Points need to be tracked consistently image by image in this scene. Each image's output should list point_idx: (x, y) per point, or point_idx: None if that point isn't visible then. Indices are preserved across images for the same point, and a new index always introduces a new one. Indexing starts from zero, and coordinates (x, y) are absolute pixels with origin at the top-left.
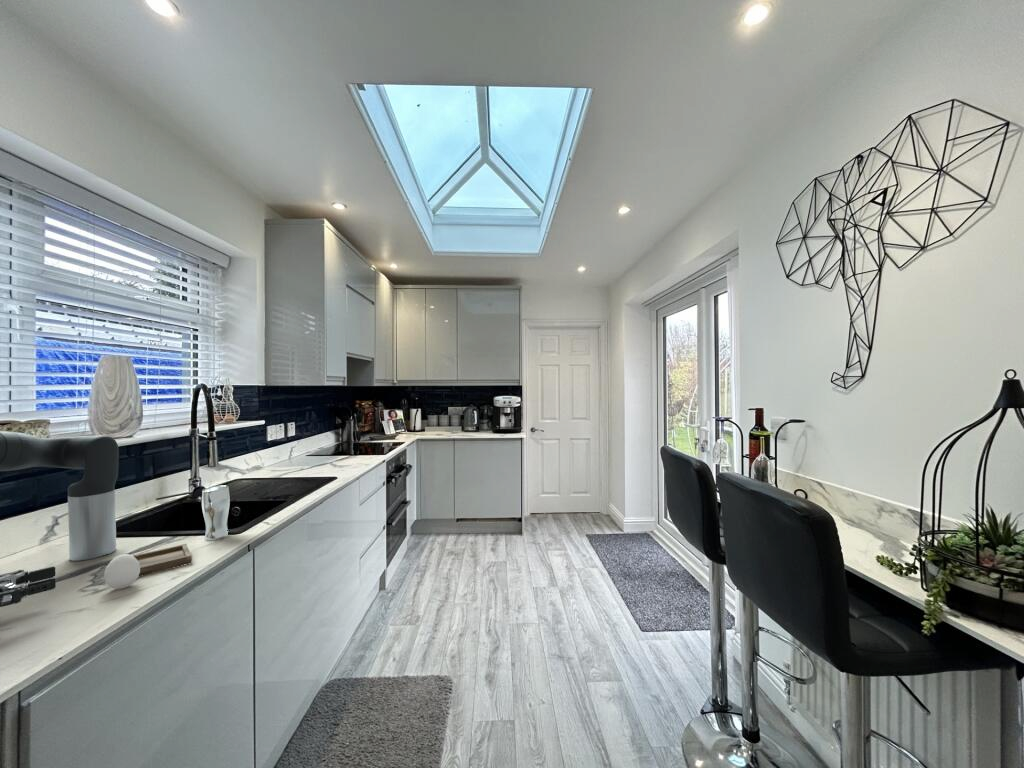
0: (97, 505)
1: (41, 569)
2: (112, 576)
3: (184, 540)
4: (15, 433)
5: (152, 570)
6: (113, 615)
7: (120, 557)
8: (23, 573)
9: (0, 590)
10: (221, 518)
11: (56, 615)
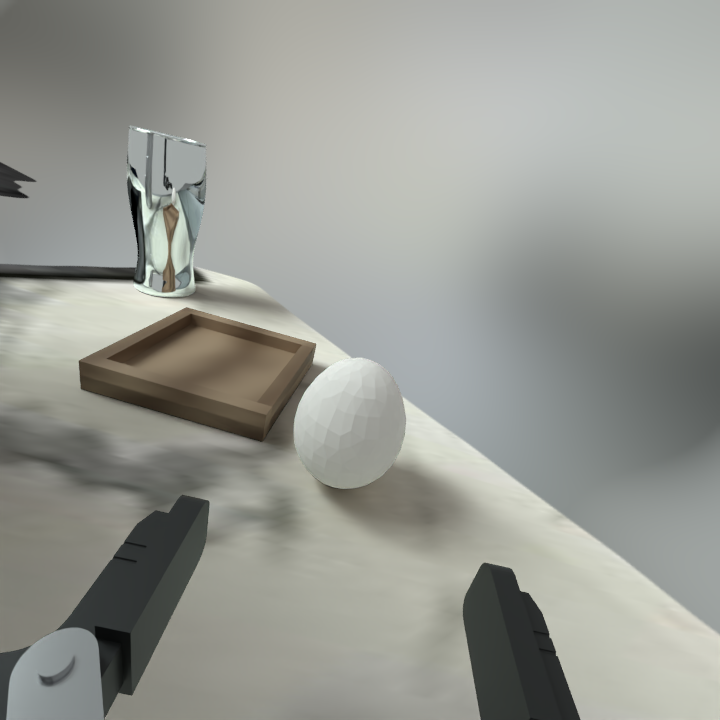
0: None
1: (163, 552)
2: (392, 450)
3: (76, 295)
4: None
5: (286, 398)
6: (595, 569)
7: (381, 374)
8: (100, 676)
9: None
10: (196, 237)
11: (444, 702)
